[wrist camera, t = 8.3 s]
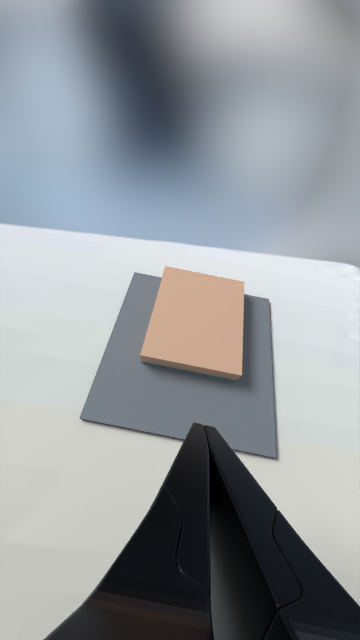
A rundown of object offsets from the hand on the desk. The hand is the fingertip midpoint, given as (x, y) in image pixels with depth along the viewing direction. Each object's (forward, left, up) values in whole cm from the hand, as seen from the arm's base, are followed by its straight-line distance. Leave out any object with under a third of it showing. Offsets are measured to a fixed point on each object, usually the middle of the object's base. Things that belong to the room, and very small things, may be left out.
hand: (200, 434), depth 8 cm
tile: (+4, -6, -12) cm, 14 cm away
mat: (+5, -8, -14) cm, 17 cm away
